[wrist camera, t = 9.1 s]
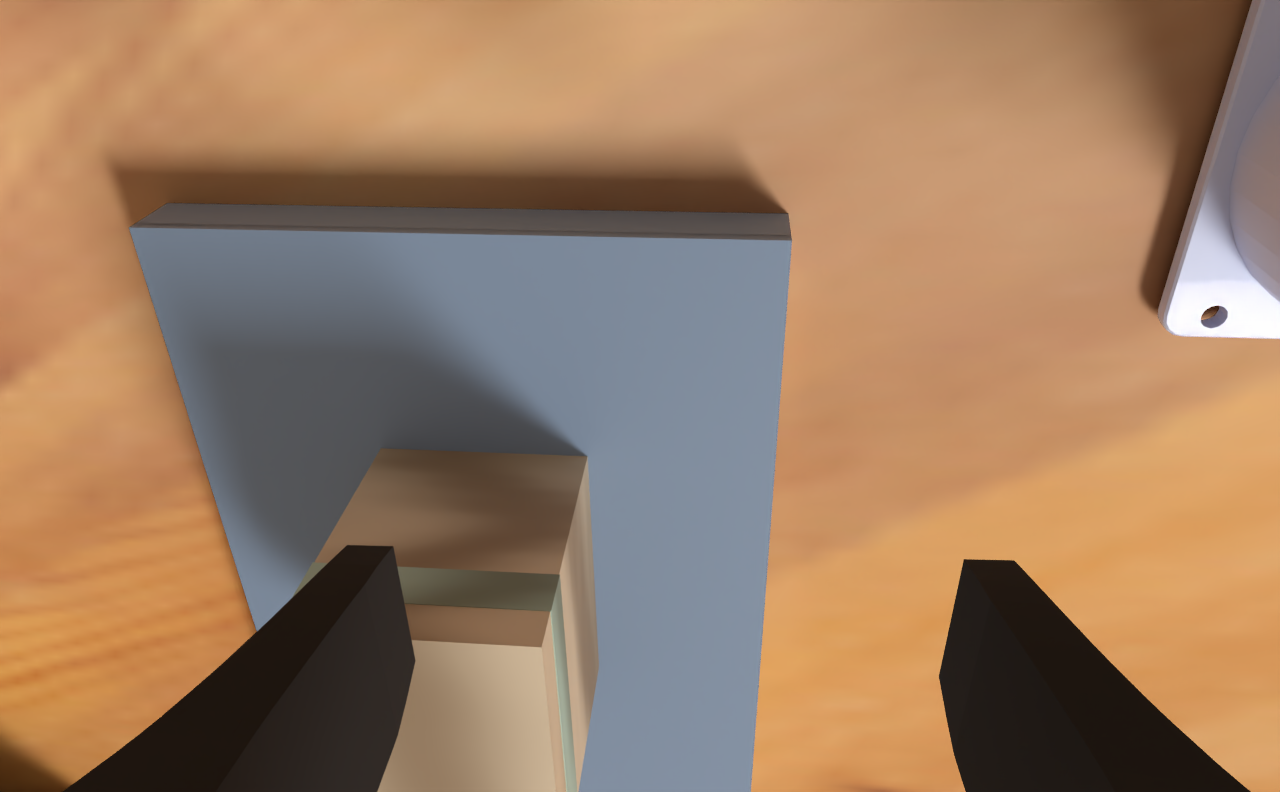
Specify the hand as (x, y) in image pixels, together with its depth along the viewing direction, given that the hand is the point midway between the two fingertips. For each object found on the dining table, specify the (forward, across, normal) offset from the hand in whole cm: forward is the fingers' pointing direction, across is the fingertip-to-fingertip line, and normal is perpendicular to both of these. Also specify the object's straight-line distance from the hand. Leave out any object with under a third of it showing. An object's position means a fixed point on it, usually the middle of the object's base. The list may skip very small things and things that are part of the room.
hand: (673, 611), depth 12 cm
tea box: (+9, +5, +7) cm, 13 cm away
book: (+11, +5, +7) cm, 14 cm away
